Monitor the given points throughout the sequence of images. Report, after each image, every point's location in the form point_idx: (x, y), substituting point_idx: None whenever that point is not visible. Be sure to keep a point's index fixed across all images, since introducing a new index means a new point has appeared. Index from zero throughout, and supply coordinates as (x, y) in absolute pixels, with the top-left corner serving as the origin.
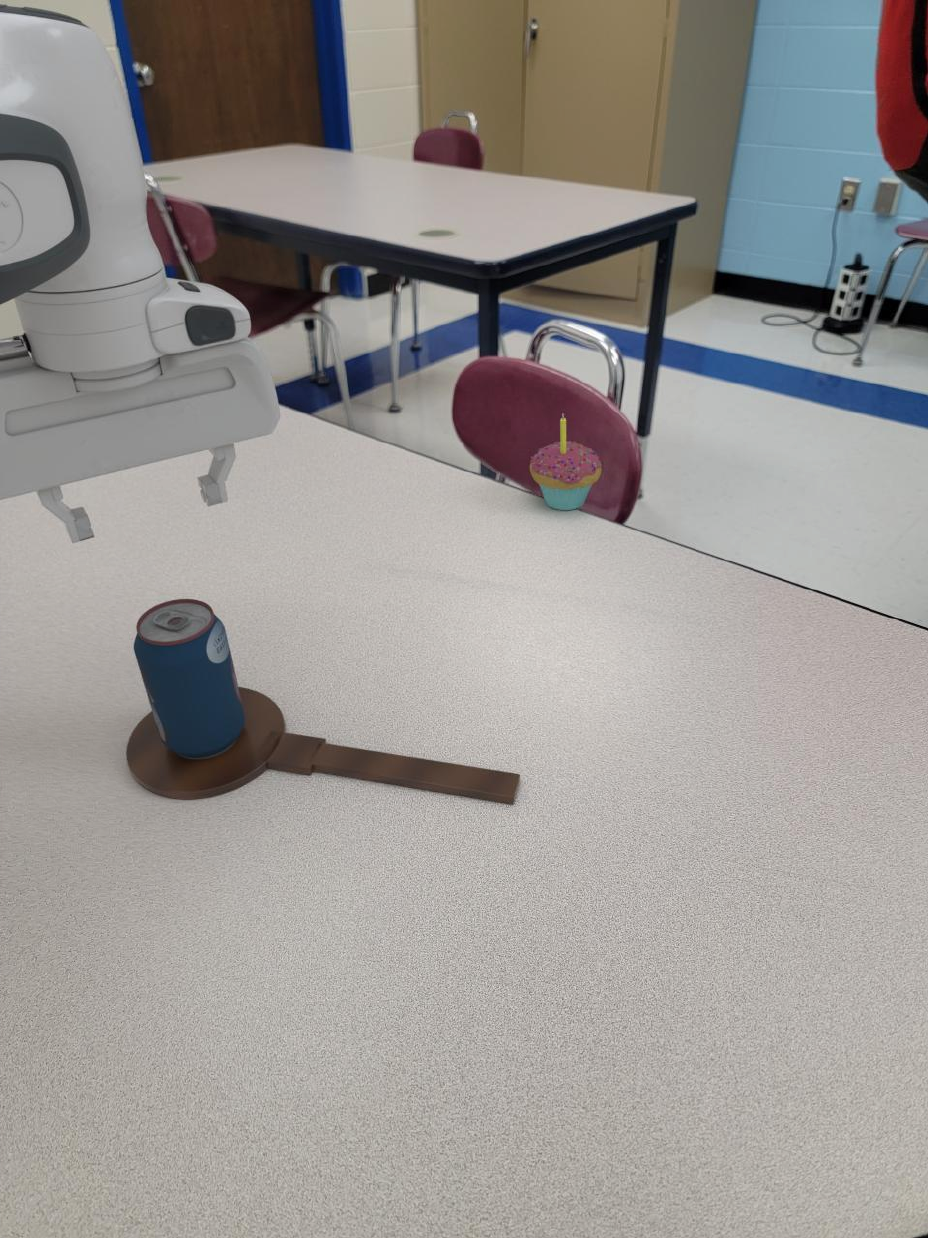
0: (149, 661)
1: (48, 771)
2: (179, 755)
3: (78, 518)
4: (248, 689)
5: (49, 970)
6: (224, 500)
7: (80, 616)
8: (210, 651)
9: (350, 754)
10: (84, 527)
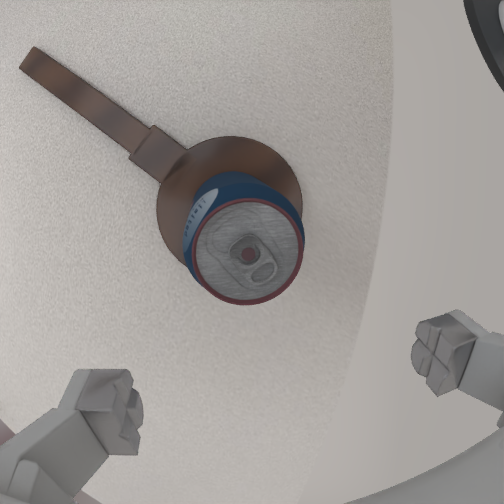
0: (293, 207)
1: (355, 234)
2: None
3: (468, 345)
4: (179, 259)
5: (374, 49)
6: (83, 369)
7: (292, 402)
8: (212, 193)
9: (114, 128)
10: (452, 328)
